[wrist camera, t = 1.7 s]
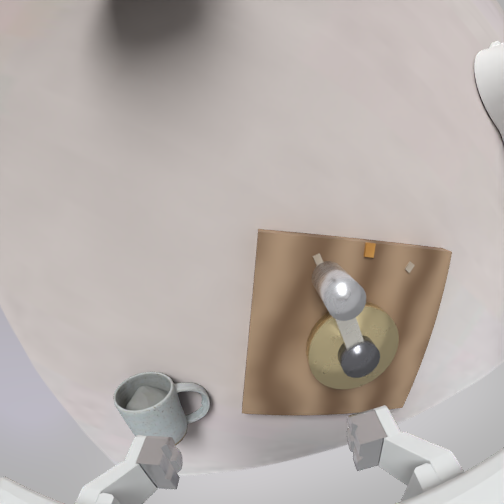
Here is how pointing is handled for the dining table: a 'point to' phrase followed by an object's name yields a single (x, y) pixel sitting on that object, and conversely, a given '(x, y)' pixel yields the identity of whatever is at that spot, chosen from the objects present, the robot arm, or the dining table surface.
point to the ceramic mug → (157, 405)
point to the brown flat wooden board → (312, 309)
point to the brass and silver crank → (348, 332)
